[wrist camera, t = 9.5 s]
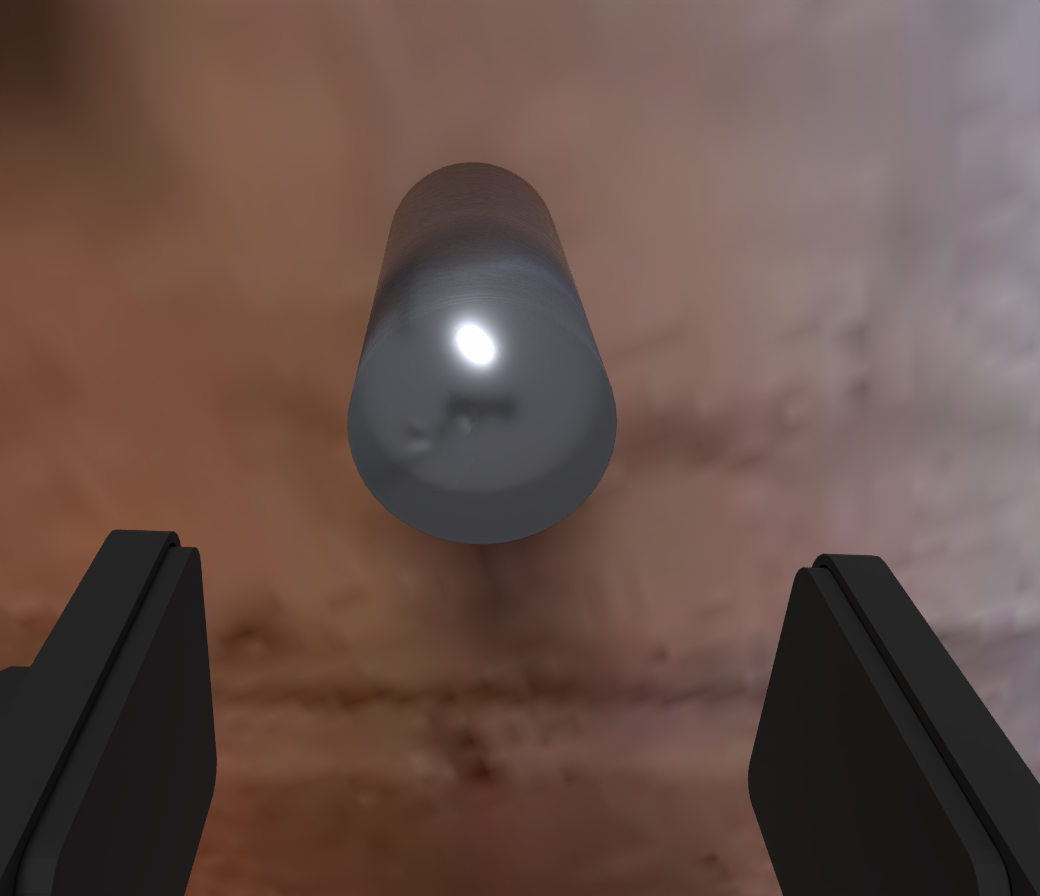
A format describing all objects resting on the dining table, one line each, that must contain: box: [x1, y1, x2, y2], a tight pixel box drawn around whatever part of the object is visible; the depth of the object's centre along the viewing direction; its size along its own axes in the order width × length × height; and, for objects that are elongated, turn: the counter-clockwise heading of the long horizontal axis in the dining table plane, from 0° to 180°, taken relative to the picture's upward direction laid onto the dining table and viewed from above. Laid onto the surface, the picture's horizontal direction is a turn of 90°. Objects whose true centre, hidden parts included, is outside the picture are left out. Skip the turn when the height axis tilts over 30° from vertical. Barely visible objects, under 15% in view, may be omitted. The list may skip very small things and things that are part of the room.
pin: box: [348, 163, 617, 544], centre depth 19 cm, size 4×4×10 cm
